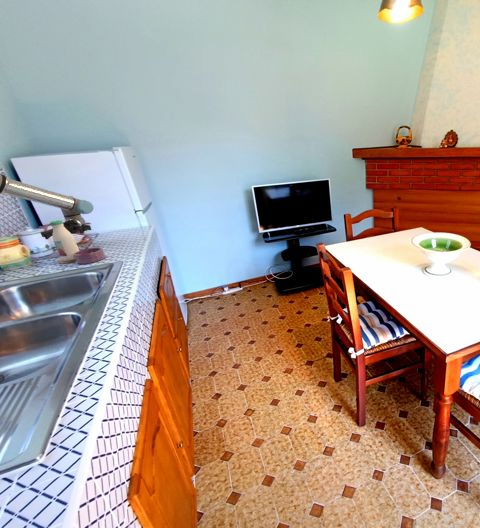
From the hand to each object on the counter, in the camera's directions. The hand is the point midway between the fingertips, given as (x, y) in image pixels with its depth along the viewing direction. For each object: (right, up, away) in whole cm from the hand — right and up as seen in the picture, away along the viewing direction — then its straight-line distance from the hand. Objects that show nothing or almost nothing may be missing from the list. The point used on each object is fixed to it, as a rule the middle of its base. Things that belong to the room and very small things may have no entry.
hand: (63, 234), depth 153 cm
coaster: (+3, -13, +2) cm, 14 cm away
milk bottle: (+3, -13, +2) cm, 13 cm away
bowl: (+14, -13, 0) cm, 20 cm away
